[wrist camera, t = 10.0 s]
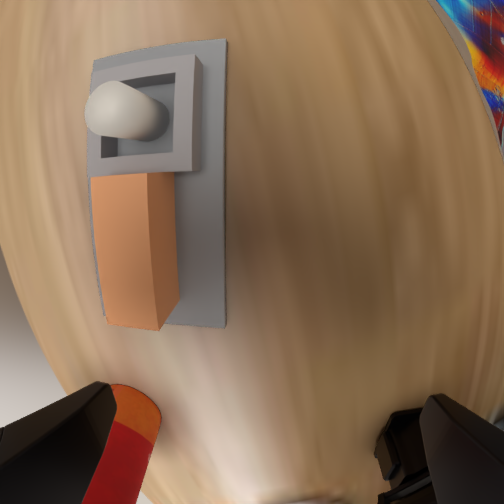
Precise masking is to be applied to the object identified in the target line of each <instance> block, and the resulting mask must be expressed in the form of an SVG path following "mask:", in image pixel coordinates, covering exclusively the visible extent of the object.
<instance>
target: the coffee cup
mask: <svg viewBox="0 0 504 504" xmlns="http://www.w3.org/2000/svg"><path fill="white" fill-rule="evenodd" d="M110 386H111V388H112V391H113V394H114V397H115V400H116V403H117V412H116V415H115V418H114V421H113V424H112V427H111V430H110V434H109V437H108V440H107V443H106V447H105V449H104V452H103V455H102V457H101V459H100V462H99V464H98V466H97V469H96V471H95V473H94V475H93V478H92V480H91V482H90V485H89V487H88V490H87V492H86V494H85V497H84V499H83V502H82V504H136V501H137V498H138V495H139V491H140V489H141V485H142V482H143V479H144V476H145V473H146V469H147V466H148V463H149V460H150V457H151V454H152V450H153V447H154V444H155V441H156V438H157V434H158V431H159V428H160V424H161V414H160V411H159V409H158V407H157V406H156V405H155V403H154V402H153V401H152V400H151V399H150V398H148V397H147V396H146V395H145V394H143V393H142V392H140V391H138V390H136V389H134V388H132V387H129V386H125V385H118V384H116V385H110Z"/></svg>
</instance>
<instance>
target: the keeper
mask: <svg viewBox="0 0 504 504" xmlns="http://www.w3.org/2000/svg"><path fill="white" fill-rule="evenodd" d="M190 54H196V56H197V57H198V58H199V60H200V61H201V63H202V64H203V65H204V66H203V89H202V123H201V171H177V172H174V192H175V227H176V249H177V267H178V282H179V295H180V301H179V302H178V303H177V305H176V306H175V308H174V309H173V311H172V312H171V314H170V315H169V317H168V318H167V320H166V321H165V323H166V324H176V325H187V326H199V327H213V328H225V326H226V290H225V111H226V71H227V40H226V39H212V40H201V41H191V42H183V43H175V44H168V45H162V46H156V47H150V48H145V49H140V50H135V51H130V52H125V53H121V54H117V55H113V56H109V57H105V58H101V59H97V60H94V63H93V71H92V72H96V71H100V70H104V69H108V68H112V67H117V66H121V65H126V64H131V63H136V62H141V61H147V60H153V59H159V58H166V57H173V56H181V55H190ZM174 95H175V83H170V84H162V85H154V86H147V87H141V88H132V87H130V86H128V85H126V84H124V83H122V82H119V81H108V82H105V83H103V84H101V85H100V86H98V87H97V88H96V89H95V90H94V91H93V92H92V94H91V95H90V97H89V98H88V101H87V103H86V107H85V121H86V124H87V126H88V128H89V129H90V130H91V131H92V132H93V133H95V134H97V135H102V136H109V137H117V138H118V148H117V157H119V156H130V155H142V154H155V153H171V152H173V123H174ZM96 177H98V176H96ZM88 189H89V207H90V221H91V232H92V242H93V251H94V259H95V267H96V274H97V280H98V287H99V293H100V298H101V304H102V309H103V315H104V316H106V314H105V308H104V303H103V297H102V291H101V285H100V279H99V272H98V264H97V256H96V248H95V239H94V228H93V216H92V200H91V177H88Z"/></svg>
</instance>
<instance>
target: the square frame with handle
mask: <svg viewBox="0 0 504 504" xmlns="http://www.w3.org/2000/svg"><path fill="white" fill-rule="evenodd" d="M203 66H204V65H203V64H202V63H201V61H200V60H199V58H198V57H197V56H196V54H190V55H181V56H173V57H166V58H159V59H153V60H147V61H141V62H136V63H131V64H126V65H121V66H117V67H112V68H108V69H104V70H100V71H96V72H92V74H91V84H90V95H91V94H92V92H93V91H94V90H95V89H96V88H97V87H98V86H100V85H101V84H103V83H105V82H108V81H119V82H122V83H124V84H126V85H128V86H130V87H132V88H141V87H147V86H154V85H162V84H170V83H175V95H174V123H173V152H171V153H155V154H142V155H130V156H119V157H117V148H118V138H117V137H109V136H102V135H97V134H95V133H93V132H92V131H91V130H90V129H89V128H88V130H87V177H91V200H92V216H93V228H94V239H95V248H96V256H97V264H98V272H99V279H100V285H101V291H102V297H103V303H104V308H105V314H106V319H107V324H110V325H117V326H124V327H132V328H139V329H147V330H156V331H159V330H160V329H161V327H162V326H163V324H164V323H165V321H166V320H167V318H168V317H169V315H170V314H171V312H172V311H173V309H174V308H175V306H176V305H177V303H178V302H179V301H180V295H179V282H178V267H177V249H176V227H175V192H174V172H177V171H201V123H202V89H203ZM90 95H89V97H90ZM96 176H98V177H96Z"/></svg>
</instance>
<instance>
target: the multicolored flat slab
mask: <svg viewBox="0 0 504 504" xmlns="http://www.w3.org/2000/svg"><path fill="white" fill-rule="evenodd" d="M428 2H429V3H430V5H431V6H432V8H433V9H434V11H435V12H436V14H437V15H438V17H439V18H440V20H441V21H442V23H443V24H444V26H445V28H446V29H447V31H448V33H449V34H450V36H451V38H452V40H453V41H454V43H455V45H456V47H457V49H458V50H459V52H460V54H461V56H462V58H463V60H464V62H465V64H466V66H467V68H468V70H469V72H470V74H471V76H472V78H473V80H474V83H475V85H476V87H477V89H478V92H479V94H480V96H481V99H482V101H483V104H484V106H485V109H486V111H487V114H488V116H489V119H490V122H491V125H492V127H493V130H494V133H495V136H496V139H497V143H498V146H499V149H500V152H501V156H502V159H503V163H504V0H428Z"/></svg>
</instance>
